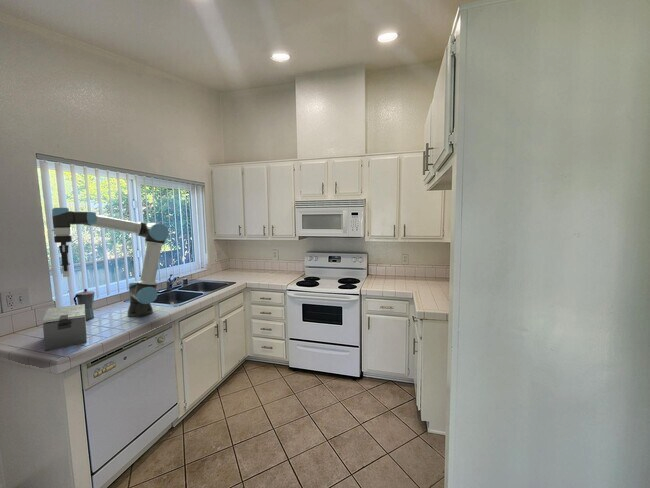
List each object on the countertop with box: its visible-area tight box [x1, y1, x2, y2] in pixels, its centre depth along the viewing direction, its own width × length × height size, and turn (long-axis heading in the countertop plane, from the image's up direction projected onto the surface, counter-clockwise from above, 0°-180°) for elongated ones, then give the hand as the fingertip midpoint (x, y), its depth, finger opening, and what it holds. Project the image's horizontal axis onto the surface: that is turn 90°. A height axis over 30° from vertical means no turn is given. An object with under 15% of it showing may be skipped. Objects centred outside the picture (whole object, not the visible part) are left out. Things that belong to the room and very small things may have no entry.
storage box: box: [42, 316, 88, 352], centre depth 162 cm, size 16×30×14 cm, turn 39°
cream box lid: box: [42, 304, 85, 324], centre depth 160 cm, size 16×34×3 cm, turn 39°
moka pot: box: [73, 288, 95, 321], centre depth 197 cm, size 10×15×20 cm, turn 2°
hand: (66, 276), depth 169 cm, fingers closed
